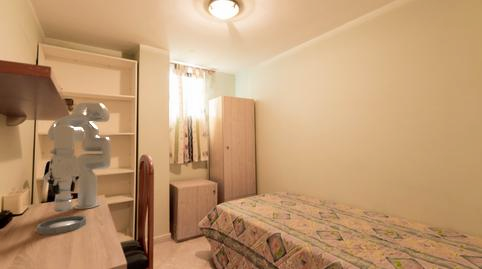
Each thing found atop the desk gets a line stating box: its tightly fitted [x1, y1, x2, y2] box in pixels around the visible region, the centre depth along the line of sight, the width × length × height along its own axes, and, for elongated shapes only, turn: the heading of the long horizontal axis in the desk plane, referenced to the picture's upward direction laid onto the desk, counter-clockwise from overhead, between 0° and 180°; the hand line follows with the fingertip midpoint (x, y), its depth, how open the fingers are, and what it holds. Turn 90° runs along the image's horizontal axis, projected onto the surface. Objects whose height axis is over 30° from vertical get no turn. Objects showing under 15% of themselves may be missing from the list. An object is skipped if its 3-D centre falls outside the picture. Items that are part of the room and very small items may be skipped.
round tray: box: [36, 215, 87, 236], centre depth 102 cm, size 17×17×2 cm
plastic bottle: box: [53, 176, 73, 213], centre depth 103 cm, size 6×7×20 cm
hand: (63, 192), depth 103 cm, fingers closed on plastic bottle, 6 cm apart
